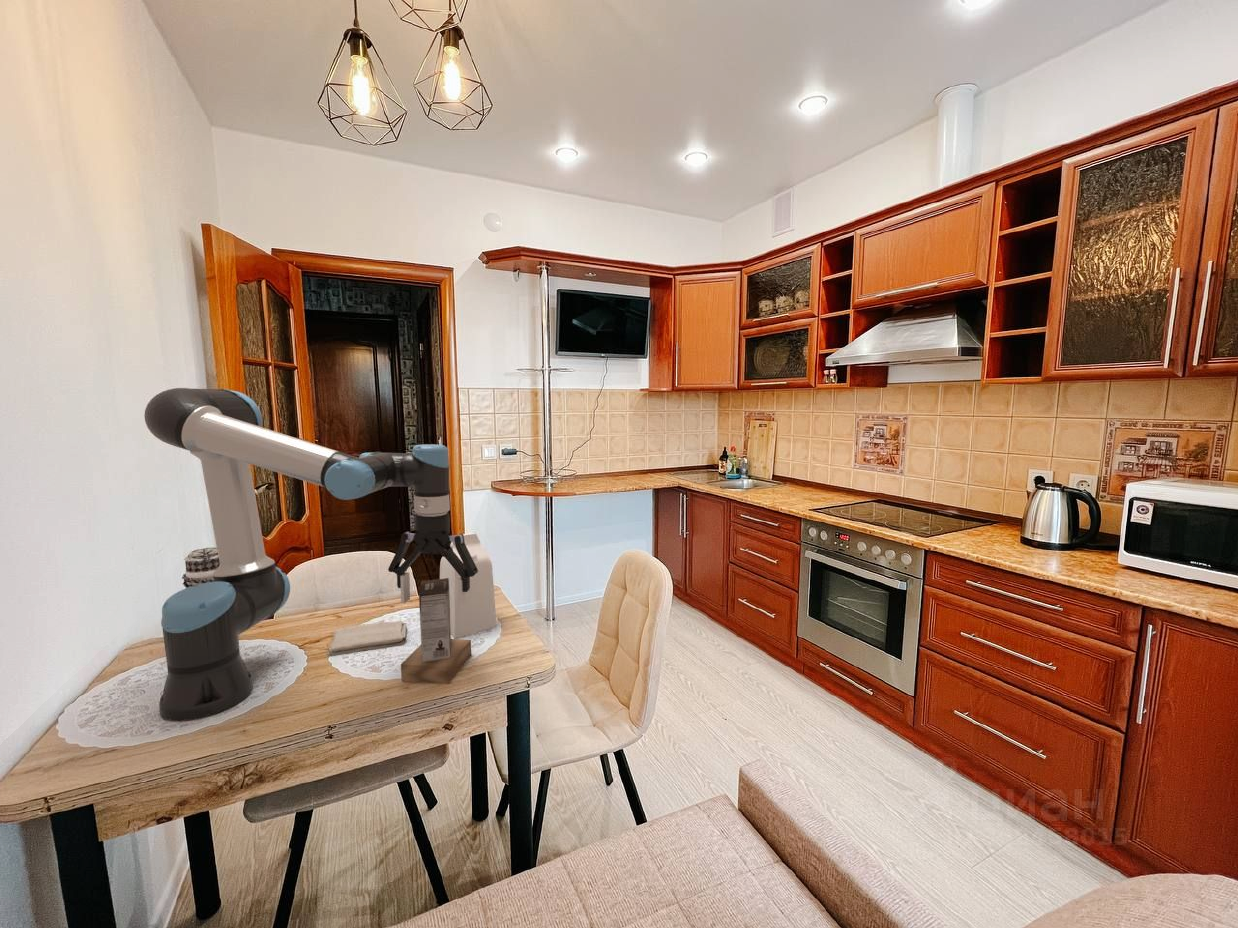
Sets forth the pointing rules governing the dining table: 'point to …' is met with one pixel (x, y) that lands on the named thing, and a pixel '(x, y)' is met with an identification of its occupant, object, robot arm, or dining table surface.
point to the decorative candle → (200, 566)
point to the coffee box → (435, 619)
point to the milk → (471, 592)
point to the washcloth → (367, 637)
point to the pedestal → (436, 664)
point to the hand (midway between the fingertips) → (433, 603)
